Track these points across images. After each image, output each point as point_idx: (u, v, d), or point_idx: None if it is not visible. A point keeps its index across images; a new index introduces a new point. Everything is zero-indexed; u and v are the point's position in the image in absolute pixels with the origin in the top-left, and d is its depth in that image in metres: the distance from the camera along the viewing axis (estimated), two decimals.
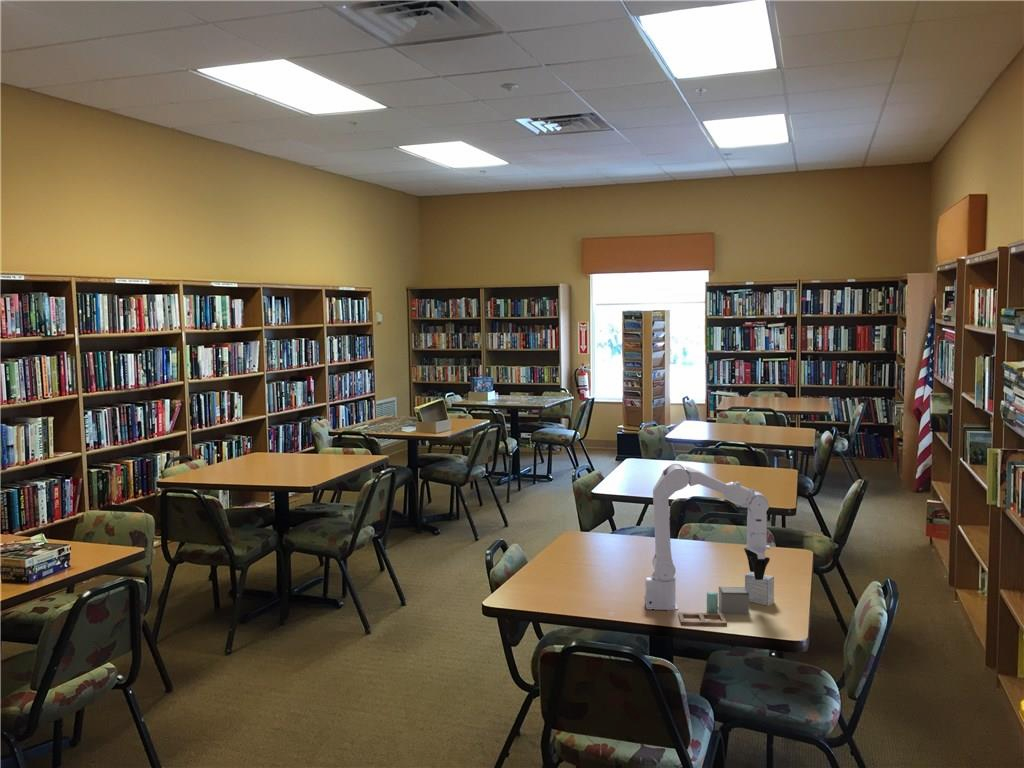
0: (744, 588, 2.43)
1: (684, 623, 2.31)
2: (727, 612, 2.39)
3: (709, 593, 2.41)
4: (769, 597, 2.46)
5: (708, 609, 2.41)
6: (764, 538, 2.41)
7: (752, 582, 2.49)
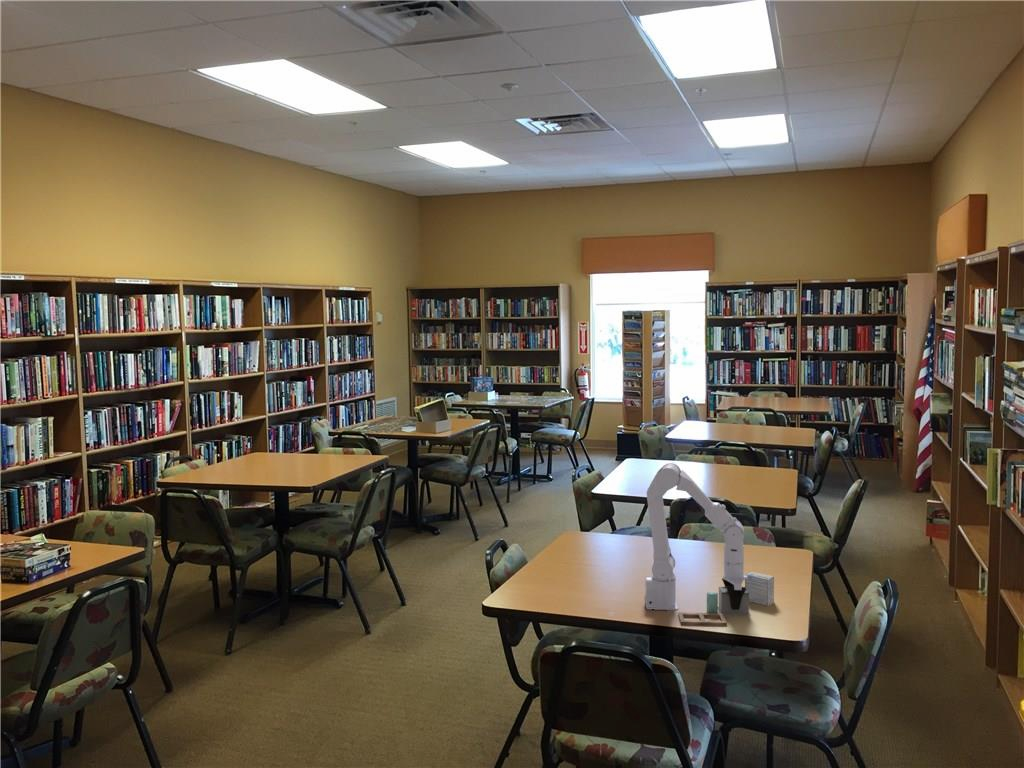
0: None
1: (684, 623, 2.31)
2: (727, 612, 2.39)
3: (709, 593, 2.41)
4: (769, 597, 2.46)
5: (708, 609, 2.41)
6: (741, 568, 2.39)
7: (752, 582, 2.49)
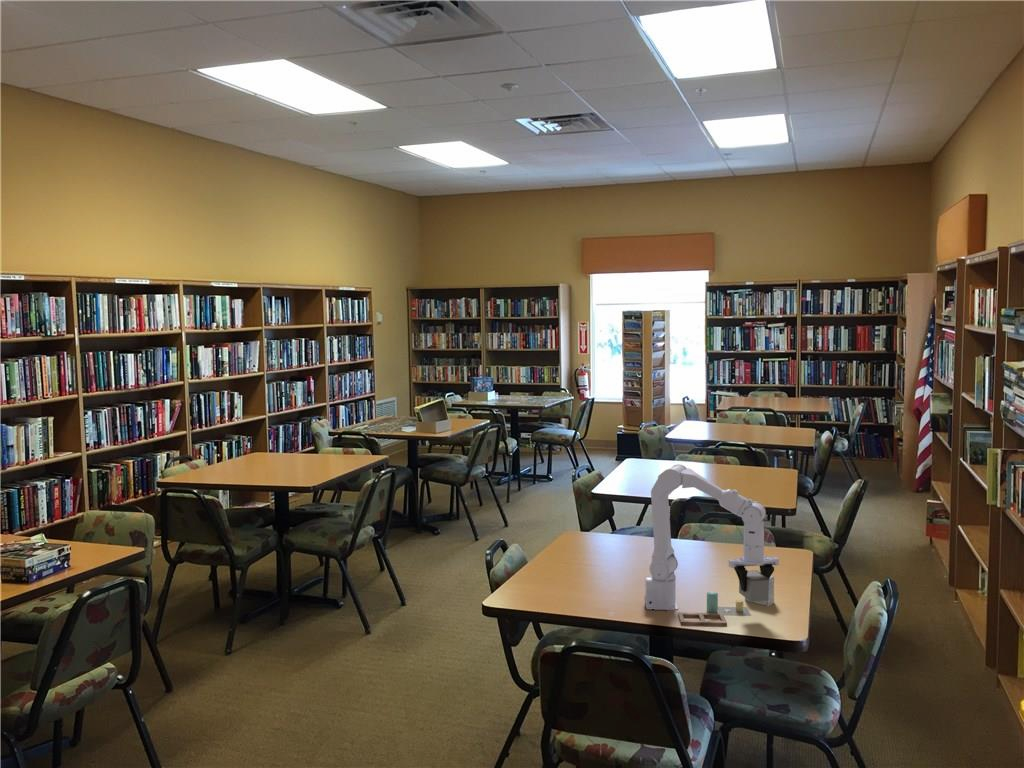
0: (764, 578, 2.31)
1: (684, 623, 2.31)
2: (741, 593, 2.36)
3: (709, 593, 2.41)
4: (769, 597, 2.46)
5: (708, 609, 2.41)
6: (749, 551, 2.31)
7: None
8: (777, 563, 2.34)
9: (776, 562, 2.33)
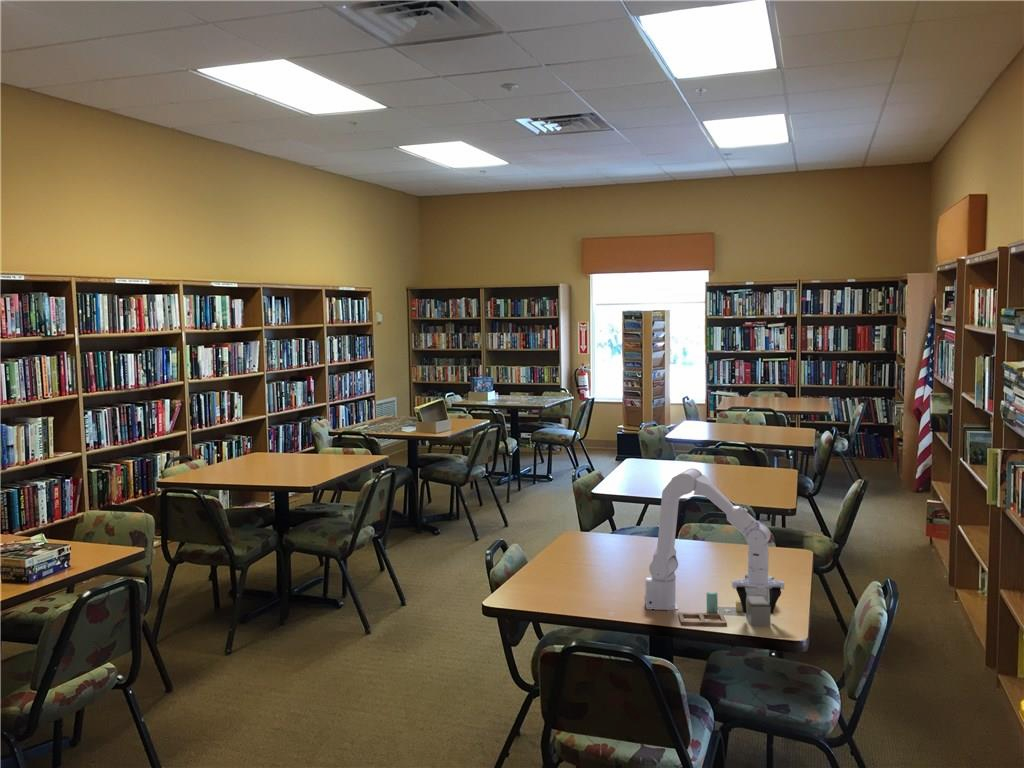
0: (766, 604, 2.29)
1: (684, 623, 2.31)
2: (746, 617, 2.36)
3: (709, 593, 2.41)
4: (769, 597, 2.46)
5: (708, 609, 2.41)
6: (752, 573, 2.31)
7: None
8: (782, 587, 2.31)
9: (781, 586, 2.31)
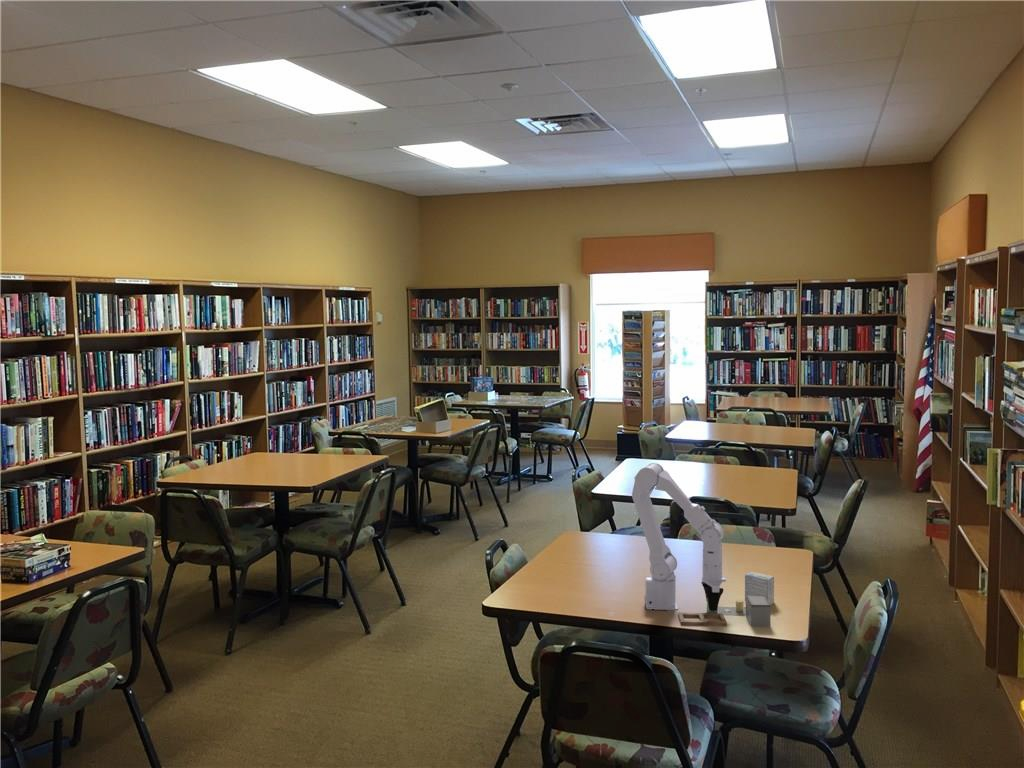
0: (766, 604, 2.29)
1: (684, 623, 2.31)
2: (746, 617, 2.36)
3: None
4: (769, 597, 2.46)
5: (708, 609, 2.40)
6: (719, 570, 2.38)
7: (752, 582, 2.49)
8: None
9: None
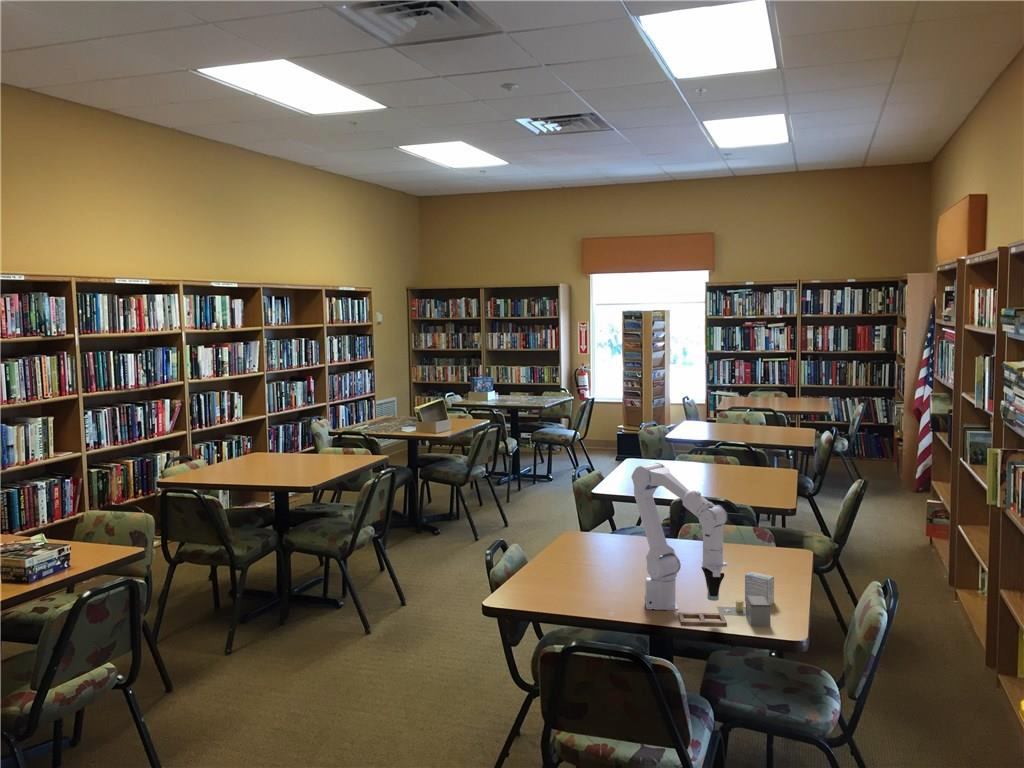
0: (766, 604, 2.29)
1: (684, 623, 2.31)
2: (746, 617, 2.36)
3: None
4: (769, 597, 2.46)
5: (709, 595, 2.33)
6: (720, 555, 2.30)
7: (752, 582, 2.49)
8: None
9: None
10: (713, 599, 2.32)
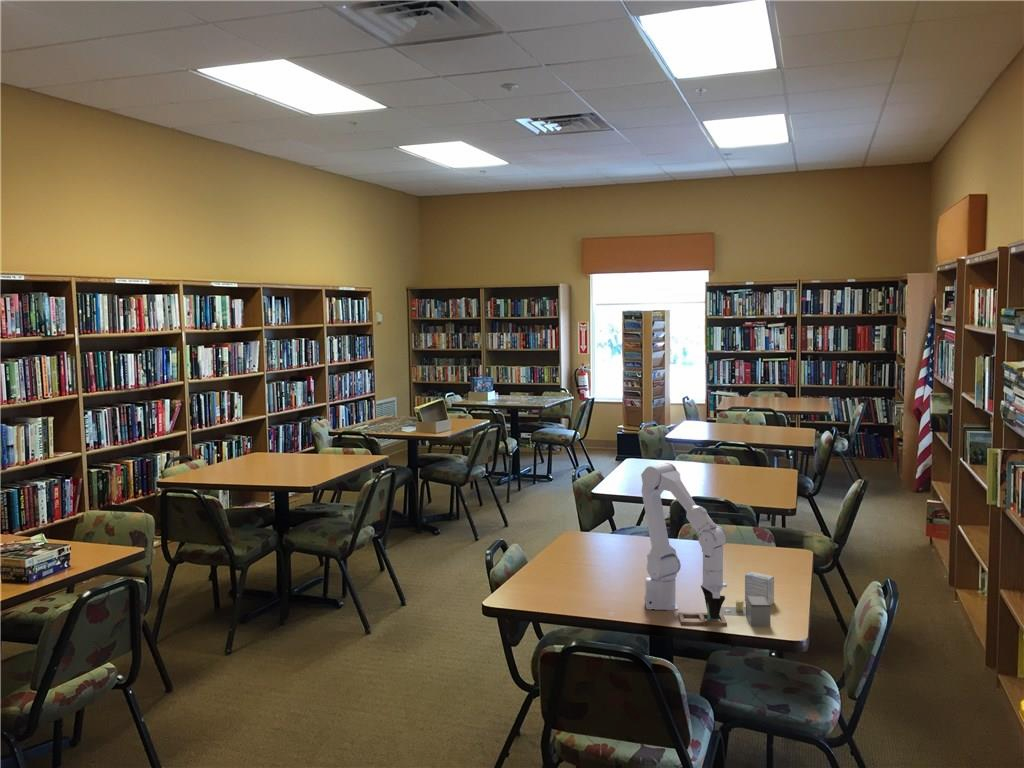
0: (766, 604, 2.29)
1: (684, 623, 2.31)
2: (746, 617, 2.36)
3: None
4: (769, 597, 2.46)
5: (709, 618, 2.33)
6: (720, 576, 2.31)
7: (752, 582, 2.49)
8: None
9: None
10: None
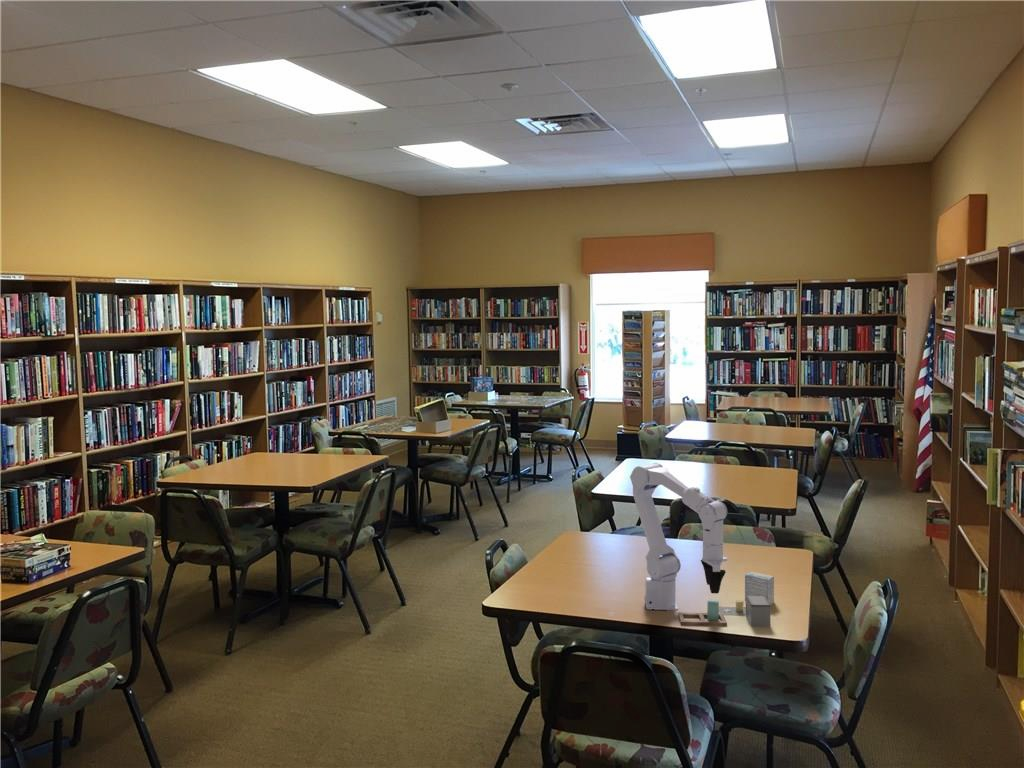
0: (766, 604, 2.29)
1: (684, 623, 2.31)
2: (746, 617, 2.36)
3: (710, 602, 2.33)
4: (769, 597, 2.46)
5: (709, 618, 2.33)
6: (720, 549, 2.30)
7: (752, 582, 2.49)
8: None
9: None
10: None
